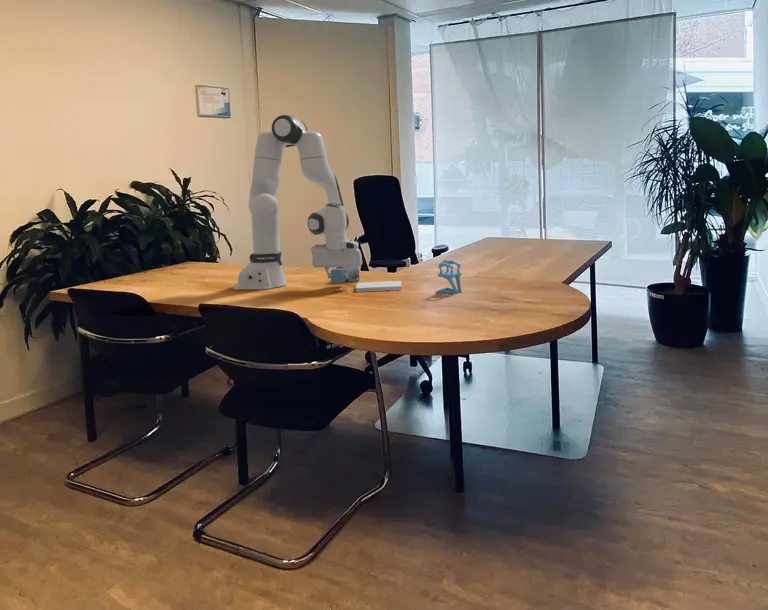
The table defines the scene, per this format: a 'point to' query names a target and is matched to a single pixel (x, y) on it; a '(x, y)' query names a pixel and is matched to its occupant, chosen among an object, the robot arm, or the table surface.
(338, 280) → the teal block
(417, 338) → the table surface
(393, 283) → the grey board
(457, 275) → the chair
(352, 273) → the ceramic mug
